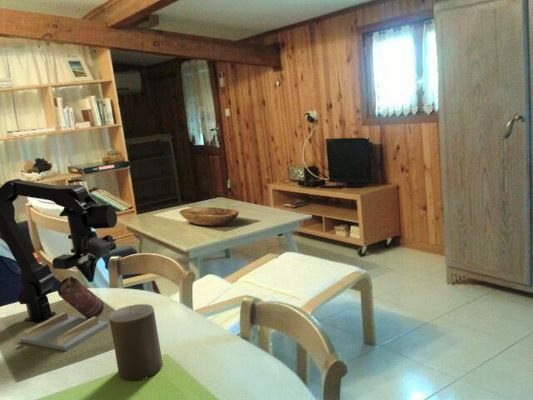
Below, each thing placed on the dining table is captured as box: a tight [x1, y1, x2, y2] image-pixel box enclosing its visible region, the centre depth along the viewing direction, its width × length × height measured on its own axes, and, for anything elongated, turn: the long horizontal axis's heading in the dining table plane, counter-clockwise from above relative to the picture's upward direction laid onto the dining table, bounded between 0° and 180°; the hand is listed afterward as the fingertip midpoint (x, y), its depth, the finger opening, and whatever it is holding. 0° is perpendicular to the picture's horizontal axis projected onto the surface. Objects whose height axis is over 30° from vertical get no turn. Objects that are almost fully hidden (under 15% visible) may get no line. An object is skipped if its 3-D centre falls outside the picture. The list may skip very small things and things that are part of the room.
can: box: [57, 276, 105, 319], centre depth 140 cm, size 6×6×14 cm
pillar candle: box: [109, 303, 164, 381], centre depth 111 cm, size 10×10×15 cm
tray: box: [20, 311, 110, 352], centre depth 136 cm, size 18×14×3 cm
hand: (91, 281), depth 144 cm, fingers closed
